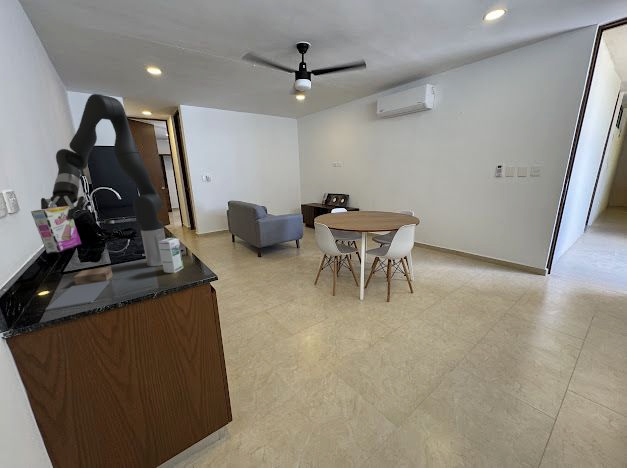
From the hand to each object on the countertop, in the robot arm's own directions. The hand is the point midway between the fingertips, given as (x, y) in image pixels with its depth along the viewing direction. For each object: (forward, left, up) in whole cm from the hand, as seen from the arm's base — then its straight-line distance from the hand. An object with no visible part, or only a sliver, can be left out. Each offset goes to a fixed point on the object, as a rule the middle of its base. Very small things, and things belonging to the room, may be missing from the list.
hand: (60, 218), depth 100 cm
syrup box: (-37, +7, -26) cm, 46 cm away
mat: (-8, +19, -26) cm, 33 cm away
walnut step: (-8, +6, -26) cm, 28 cm away
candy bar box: (0, +2, -12) cm, 12 cm away
